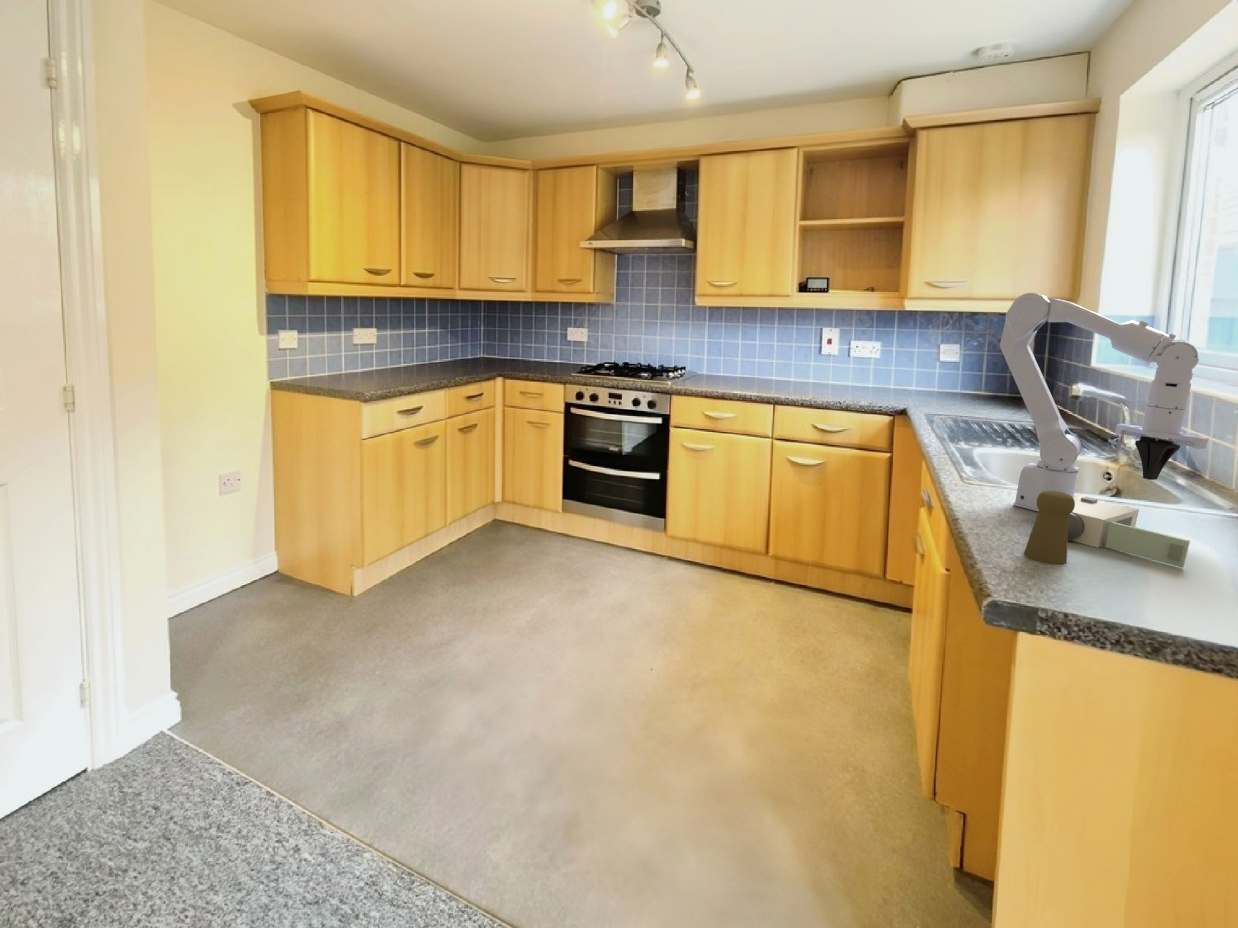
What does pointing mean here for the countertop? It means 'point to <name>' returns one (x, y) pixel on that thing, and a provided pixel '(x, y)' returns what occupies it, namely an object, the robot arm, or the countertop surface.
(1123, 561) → the countertop surface
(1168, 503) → the countertop surface
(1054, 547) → the cork
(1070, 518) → the camera box
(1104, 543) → the side door
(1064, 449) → the robot arm
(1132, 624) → the countertop surface
